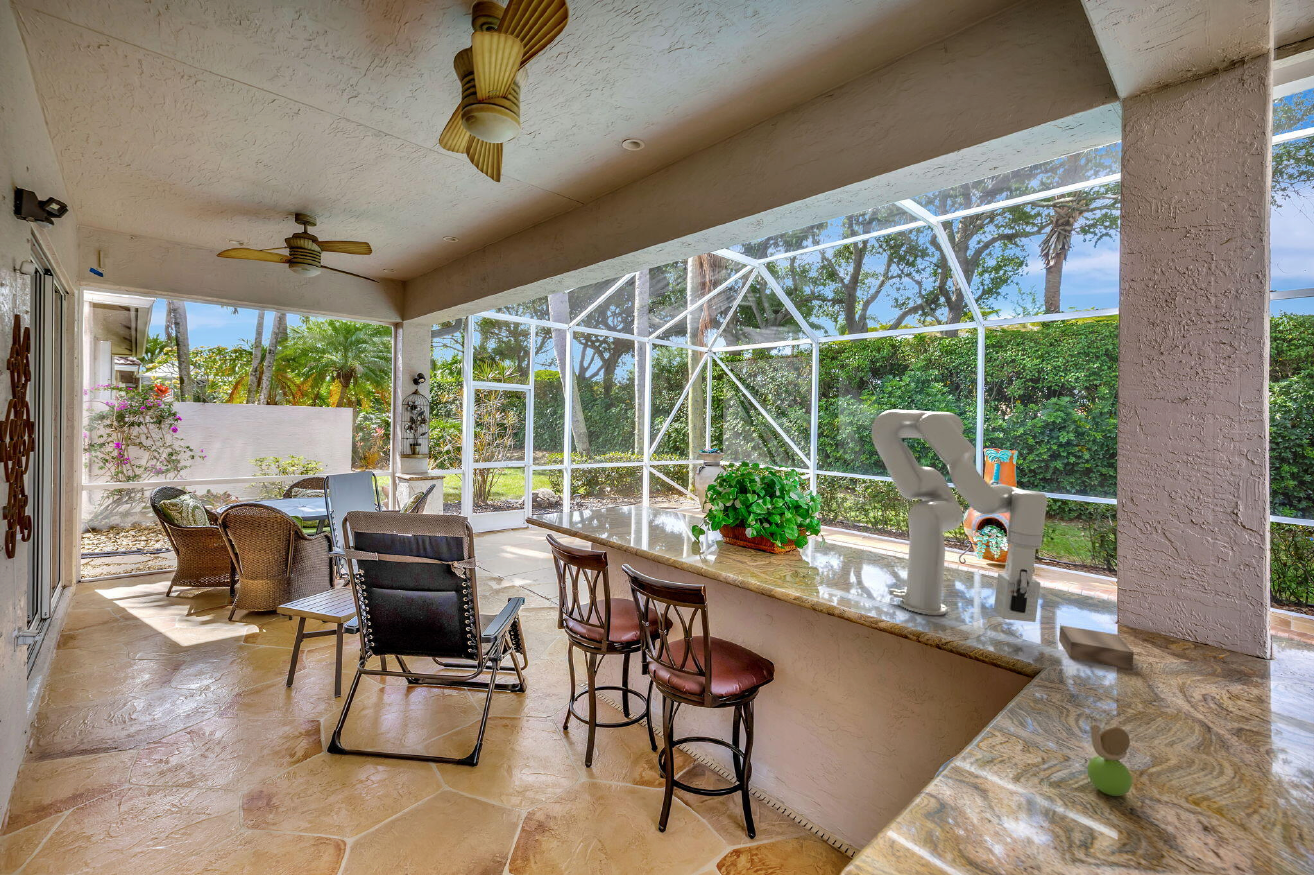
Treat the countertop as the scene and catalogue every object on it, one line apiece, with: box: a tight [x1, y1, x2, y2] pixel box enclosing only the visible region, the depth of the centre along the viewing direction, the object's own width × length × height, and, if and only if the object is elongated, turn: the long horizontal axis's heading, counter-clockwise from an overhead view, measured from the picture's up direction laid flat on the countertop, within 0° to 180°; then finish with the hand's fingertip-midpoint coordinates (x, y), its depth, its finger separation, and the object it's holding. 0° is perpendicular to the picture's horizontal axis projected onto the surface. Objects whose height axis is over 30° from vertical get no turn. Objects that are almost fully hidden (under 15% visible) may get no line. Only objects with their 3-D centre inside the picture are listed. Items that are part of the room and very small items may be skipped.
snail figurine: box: [1086, 714, 1133, 797], centre depth 90 cm, size 5×6×12 cm
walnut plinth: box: [1058, 624, 1135, 670], centre depth 144 cm, size 12×12×4 cm
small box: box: [993, 572, 1041, 623], centre depth 151 cm, size 8×6×10 cm
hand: (1015, 606), depth 151 cm, fingers closed on small box, 6 cm apart
